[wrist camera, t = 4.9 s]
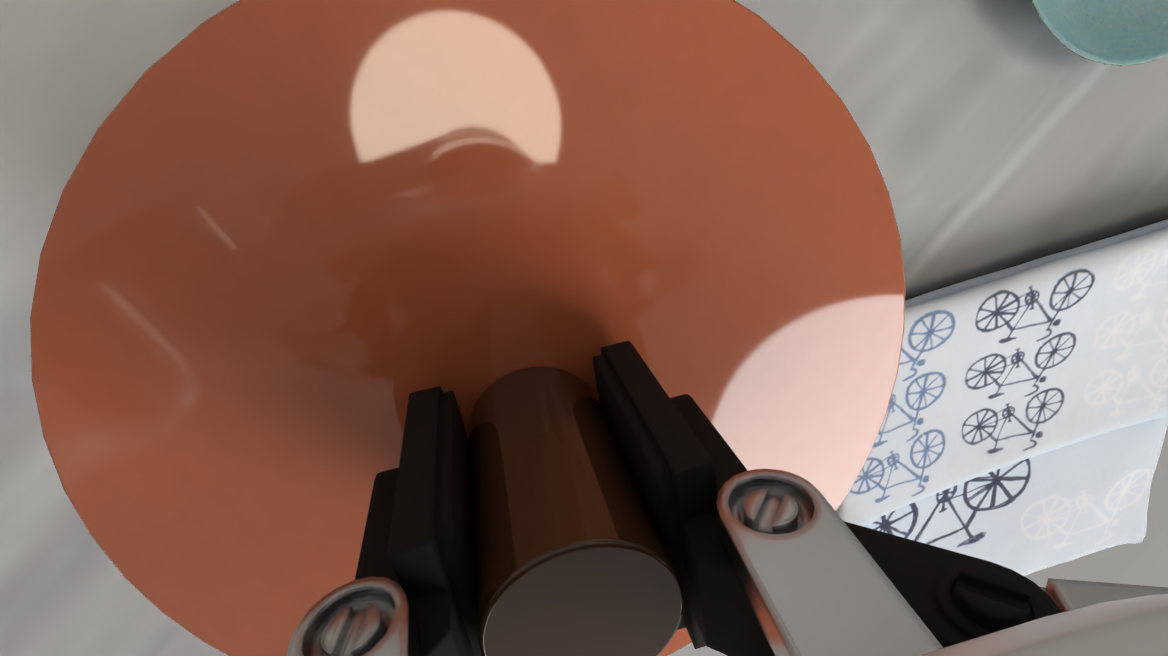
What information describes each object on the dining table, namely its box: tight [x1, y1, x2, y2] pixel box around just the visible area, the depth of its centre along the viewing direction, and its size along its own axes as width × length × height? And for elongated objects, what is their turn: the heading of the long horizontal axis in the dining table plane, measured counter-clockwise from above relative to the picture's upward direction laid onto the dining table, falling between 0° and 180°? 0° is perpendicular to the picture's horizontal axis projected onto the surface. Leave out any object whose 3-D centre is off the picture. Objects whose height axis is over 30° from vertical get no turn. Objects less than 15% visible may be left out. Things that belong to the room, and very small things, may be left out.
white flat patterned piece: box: [836, 219, 1168, 576], centre depth 27 cm, size 19×20×2 cm
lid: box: [30, 0, 905, 656], centre depth 10 cm, size 16×16×6 cm
